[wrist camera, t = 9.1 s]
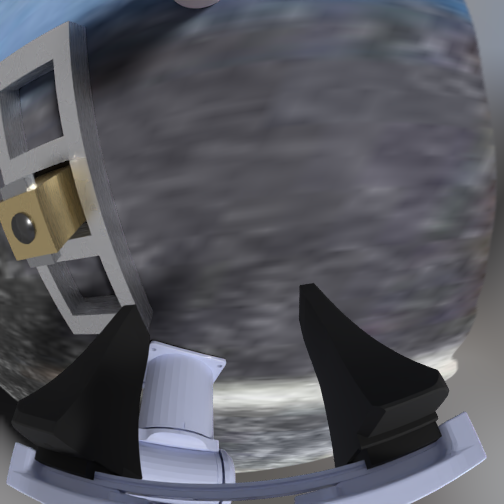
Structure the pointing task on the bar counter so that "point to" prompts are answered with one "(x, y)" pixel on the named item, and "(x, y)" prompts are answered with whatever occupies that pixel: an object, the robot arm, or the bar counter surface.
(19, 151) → the rail
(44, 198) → the drilled wooden block
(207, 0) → the smoothie
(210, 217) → the bar counter surface
